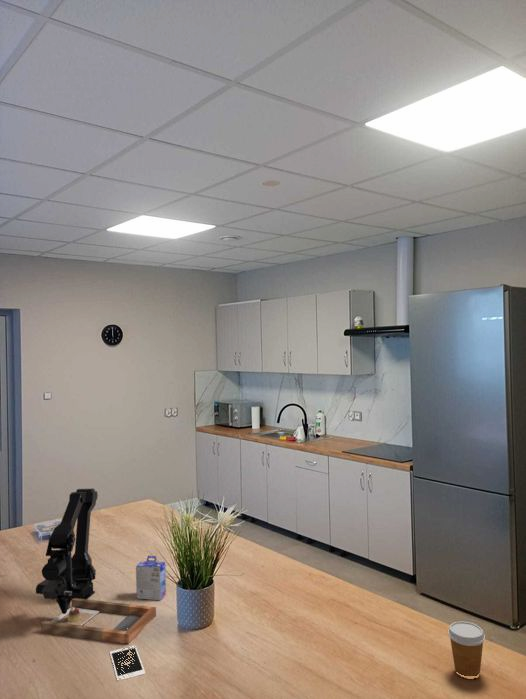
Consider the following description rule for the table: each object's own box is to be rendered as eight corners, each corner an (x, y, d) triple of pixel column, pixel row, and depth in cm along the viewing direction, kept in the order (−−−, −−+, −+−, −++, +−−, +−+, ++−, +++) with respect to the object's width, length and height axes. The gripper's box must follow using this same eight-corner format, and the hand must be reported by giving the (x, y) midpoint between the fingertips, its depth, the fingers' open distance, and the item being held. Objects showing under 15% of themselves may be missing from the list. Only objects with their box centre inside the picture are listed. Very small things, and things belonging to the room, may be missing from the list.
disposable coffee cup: (443, 664, 152) (442, 621, 152) (475, 661, 153) (474, 619, 153) (458, 685, 143) (457, 640, 143) (493, 682, 144) (491, 637, 143)
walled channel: (40, 632, 177) (40, 622, 177) (74, 606, 194) (74, 597, 194) (129, 644, 168) (128, 634, 168) (156, 615, 185) (155, 607, 185)
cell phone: (117, 683, 149) (117, 680, 149) (109, 653, 164) (109, 651, 164) (145, 675, 152) (145, 673, 152) (135, 647, 167) (135, 644, 167)
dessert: (99, 614, 189) (99, 600, 189) (77, 631, 177) (76, 617, 177) (71, 609, 193) (71, 596, 193) (47, 626, 181) (47, 612, 181)
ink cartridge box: (167, 593, 202) (165, 555, 202) (161, 600, 196) (160, 561, 196) (142, 592, 204) (141, 554, 204) (136, 599, 198) (134, 559, 198)
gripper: (23, 575, 180) (25, 622, 180) (71, 580, 174) (73, 628, 174) (46, 562, 190) (47, 606, 191) (91, 566, 185) (93, 612, 185)
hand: (64, 613), depth 185 cm, fingers closed
